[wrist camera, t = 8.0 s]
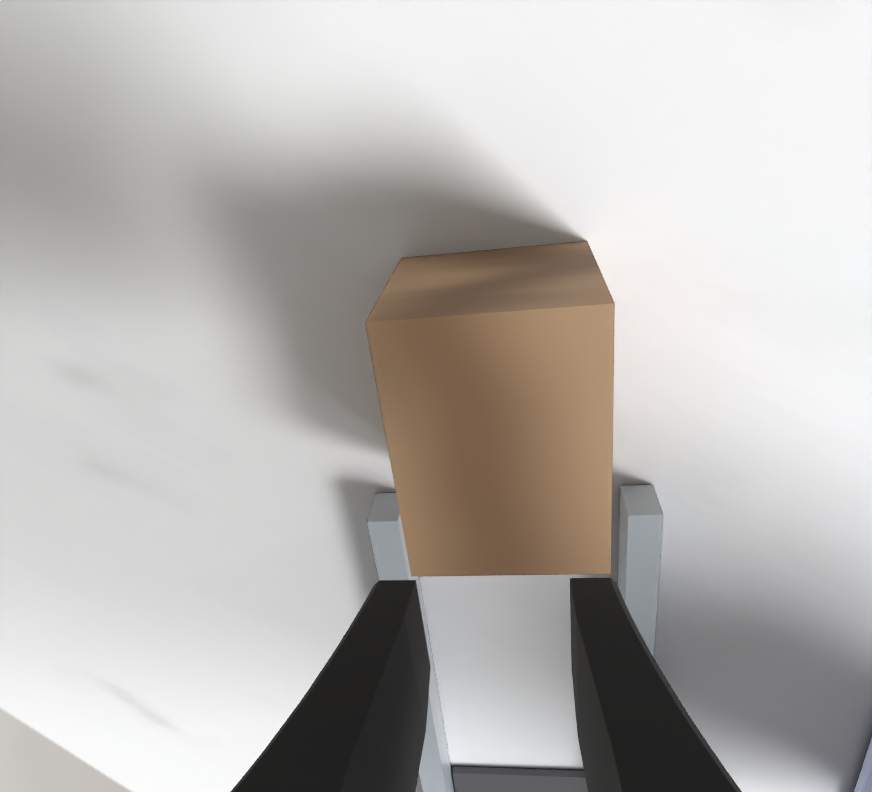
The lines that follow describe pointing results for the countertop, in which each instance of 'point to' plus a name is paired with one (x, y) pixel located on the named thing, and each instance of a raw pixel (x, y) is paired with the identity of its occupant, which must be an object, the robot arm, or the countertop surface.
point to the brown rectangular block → (499, 409)
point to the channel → (473, 785)
